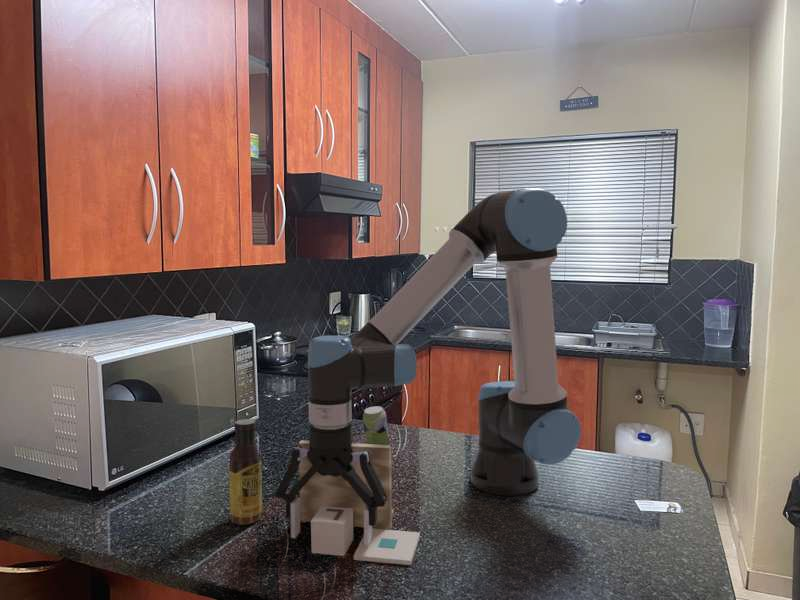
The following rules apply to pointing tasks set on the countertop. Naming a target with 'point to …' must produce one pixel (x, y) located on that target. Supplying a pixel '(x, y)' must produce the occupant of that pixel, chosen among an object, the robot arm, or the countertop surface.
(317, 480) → the screen
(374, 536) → the tile
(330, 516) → the letter cube
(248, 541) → the countertop surface
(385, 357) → the robot arm
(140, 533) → the countertop surface
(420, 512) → the countertop surface
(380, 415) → the beverage can
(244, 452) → the sauce bottle
